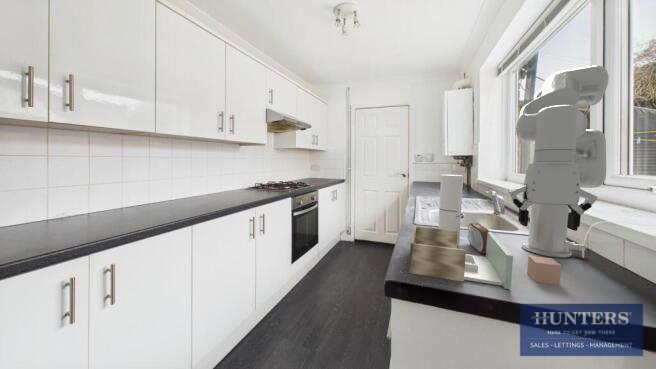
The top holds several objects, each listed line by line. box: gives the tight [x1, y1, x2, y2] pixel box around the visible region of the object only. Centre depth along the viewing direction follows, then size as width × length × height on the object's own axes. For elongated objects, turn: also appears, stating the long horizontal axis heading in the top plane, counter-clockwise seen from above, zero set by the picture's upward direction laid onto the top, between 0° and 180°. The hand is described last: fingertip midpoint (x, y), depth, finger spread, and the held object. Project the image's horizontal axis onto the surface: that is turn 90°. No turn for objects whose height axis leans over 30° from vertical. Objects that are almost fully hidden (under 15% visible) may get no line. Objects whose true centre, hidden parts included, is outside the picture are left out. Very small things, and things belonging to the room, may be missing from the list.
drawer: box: [464, 231, 514, 290], centre depth 70 cm, size 13×21×8 cm, turn 158°
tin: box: [467, 222, 490, 255], centre depth 86 cm, size 15×3×8 cm, turn 168°
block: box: [526, 255, 562, 286], centre depth 65 cm, size 5×5×5 cm
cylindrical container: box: [437, 174, 464, 247], centre depth 92 cm, size 7×7×25 cm
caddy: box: [409, 226, 467, 282], centre depth 74 cm, size 13×20×8 cm, turn 158°
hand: (547, 227), depth 63 cm, fingers open, 9 cm apart
